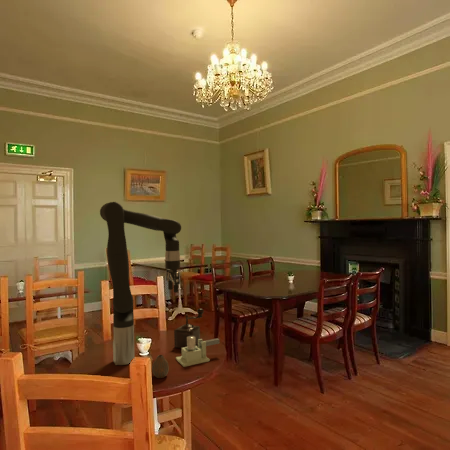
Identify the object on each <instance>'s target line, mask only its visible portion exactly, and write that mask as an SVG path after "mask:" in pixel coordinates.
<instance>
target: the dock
mask: <svg viewBox="0 0 450 450" xmlns="http://www.w3.org/2000/svg"><path fill="white" fill-rule="evenodd" d="M201 341H203V342H201ZM199 342H201V347H200V346H199ZM175 360H176V361H177V362H178V363H179V364H180V365H181V366H182V367H184V368H186V367H189V366H194V365H198V364H204V363H207V362H210V360H211V359H210V358H209V357H207V346H206V340H203V338H200V339H198V346H196V350H194V351H189V352H188V351H187V347H184V348H182V349H181V356H176V357H175Z"/></svg>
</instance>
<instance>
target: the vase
mask: <svg viewBox="0 0 450 450" xmlns="http://www.w3.org/2000/svg"><path fill="white" fill-rule="evenodd" d="M169 368H170V367H169V362H168V360H167V359H166V358H165V356H164V355H163V354H158V355H157V356H156V359H155V360H154V361H153V363H152V368H151V370H152V375H153V376H155V378H157V379H164V378H165V377H166V376H167V375H168V373H169Z"/></svg>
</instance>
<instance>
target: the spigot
mask: <svg viewBox="0 0 450 450" xmlns="http://www.w3.org/2000/svg"><path fill="white" fill-rule="evenodd" d="M194 350H196V341H195V336H188V337H187V351H188V352H189V351H194Z"/></svg>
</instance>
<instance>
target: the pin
mask: <svg viewBox="0 0 450 450" xmlns="http://www.w3.org/2000/svg"><path fill="white" fill-rule="evenodd" d="M203 341H204V340H203ZM203 341H201V342H203ZM205 341H206V347H208V346H213V345H218V344H220V339H219V338H213V339H207V340H205ZM201 342H199V346H200V347H201Z"/></svg>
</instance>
